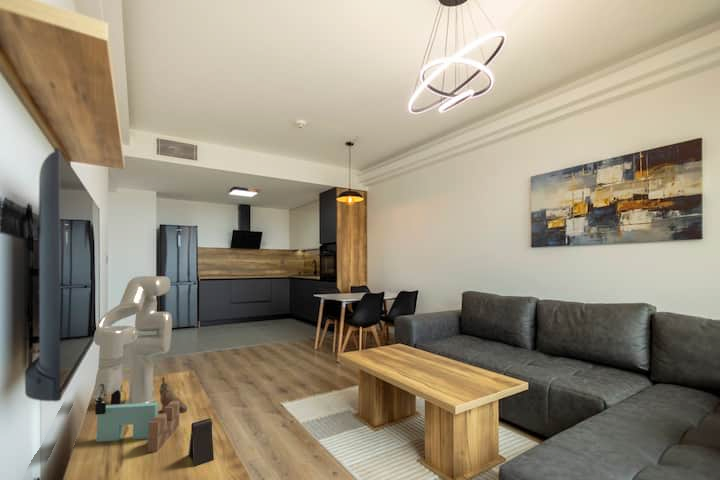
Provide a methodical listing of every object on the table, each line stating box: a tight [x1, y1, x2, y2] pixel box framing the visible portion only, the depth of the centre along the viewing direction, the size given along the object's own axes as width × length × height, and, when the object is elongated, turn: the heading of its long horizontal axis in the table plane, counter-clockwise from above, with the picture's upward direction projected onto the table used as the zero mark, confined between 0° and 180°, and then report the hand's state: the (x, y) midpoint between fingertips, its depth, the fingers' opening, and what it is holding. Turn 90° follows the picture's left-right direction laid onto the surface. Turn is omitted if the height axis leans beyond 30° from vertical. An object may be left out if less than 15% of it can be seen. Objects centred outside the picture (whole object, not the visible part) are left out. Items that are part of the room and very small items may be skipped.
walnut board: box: [147, 399, 181, 453], centre depth 131 cm, size 20×3×10 cm, turn 8°
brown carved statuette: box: [158, 376, 188, 414], centre depth 152 cm, size 12×6×18 cm, turn 123°
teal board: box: [96, 401, 160, 443], centre depth 131 cm, size 3×20×12 cm, turn 98°
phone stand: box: [187, 418, 215, 467], centre depth 118 cm, size 9×6×12 cm, turn 38°
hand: (108, 408), depth 130 cm, fingers open, 9 cm apart
